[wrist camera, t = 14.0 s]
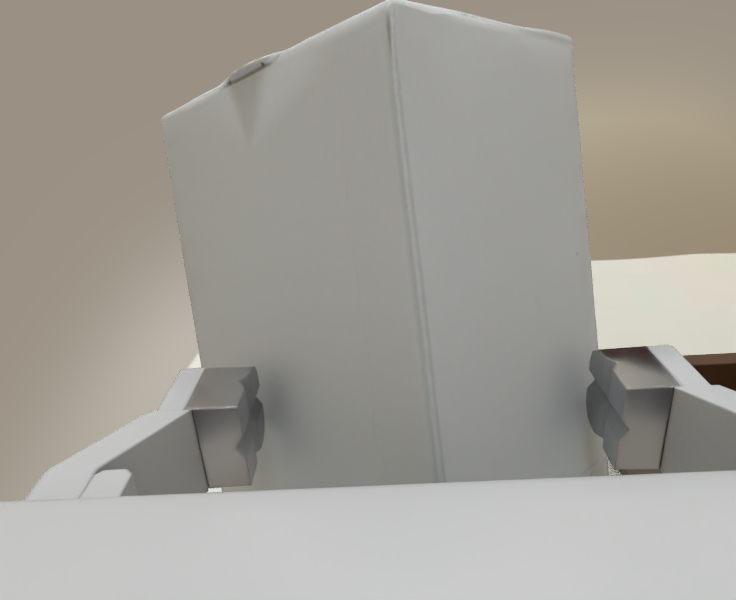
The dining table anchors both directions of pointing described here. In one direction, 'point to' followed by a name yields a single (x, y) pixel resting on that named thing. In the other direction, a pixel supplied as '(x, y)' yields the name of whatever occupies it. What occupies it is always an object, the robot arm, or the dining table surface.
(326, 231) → the cosmetic box
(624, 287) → the dining table surface
